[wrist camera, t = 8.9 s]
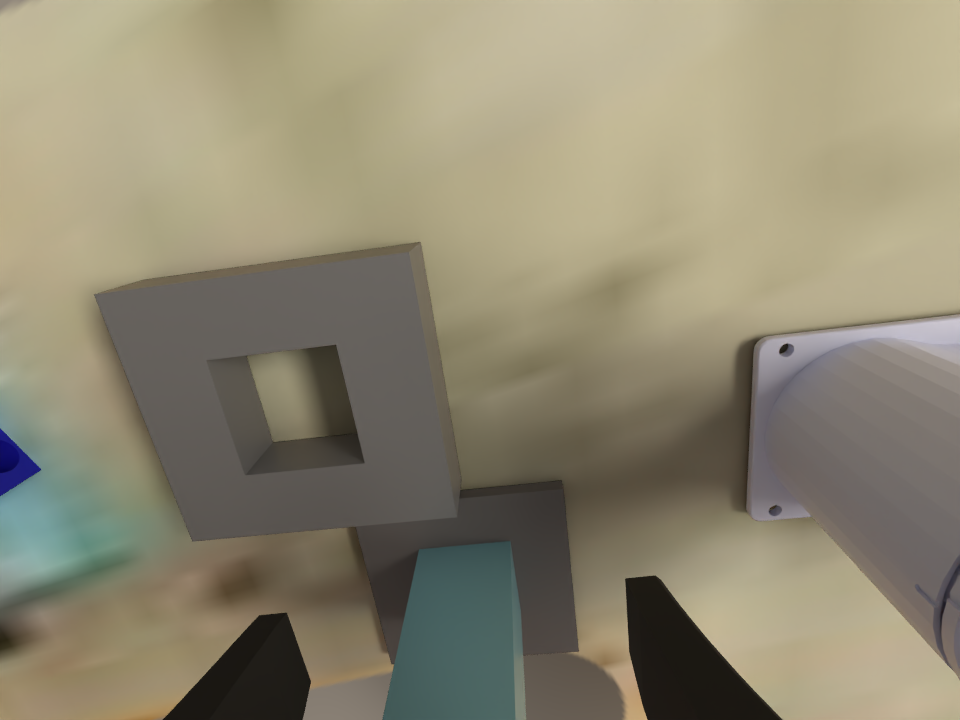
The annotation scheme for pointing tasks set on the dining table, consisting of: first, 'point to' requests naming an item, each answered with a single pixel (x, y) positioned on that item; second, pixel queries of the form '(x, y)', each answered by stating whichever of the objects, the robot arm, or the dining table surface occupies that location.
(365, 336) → the socket block
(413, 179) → the dining table surface
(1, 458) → the cable clip
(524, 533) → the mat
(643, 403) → the dining table surface
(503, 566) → the plug
